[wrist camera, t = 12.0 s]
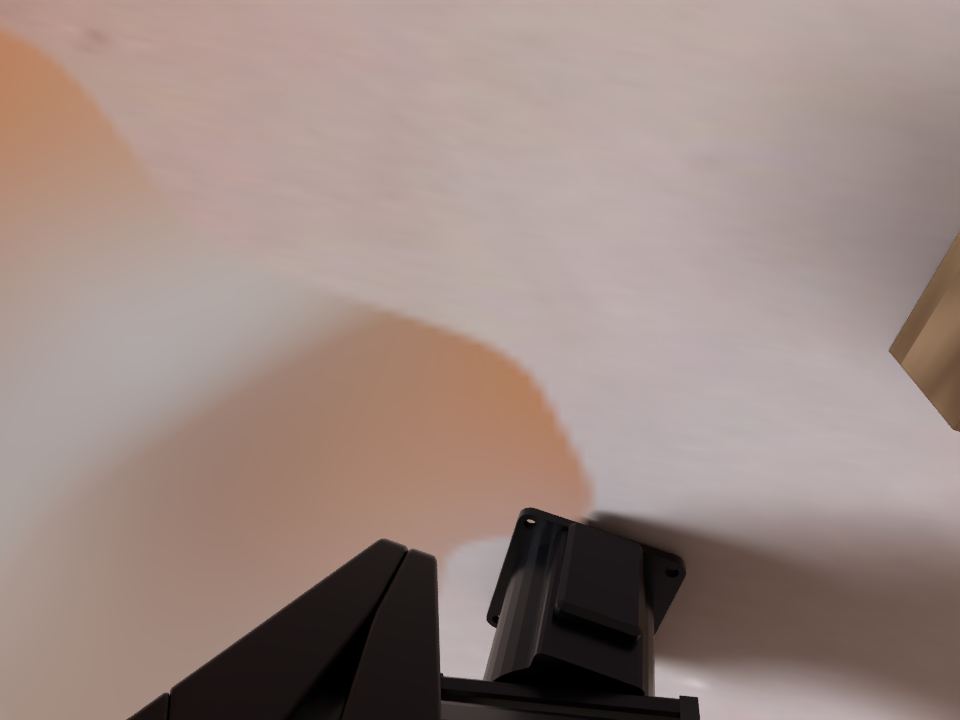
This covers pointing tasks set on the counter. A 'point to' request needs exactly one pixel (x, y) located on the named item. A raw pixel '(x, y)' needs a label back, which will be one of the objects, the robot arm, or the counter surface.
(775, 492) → the counter surface
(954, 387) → the walnut rack
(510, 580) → the robot arm
